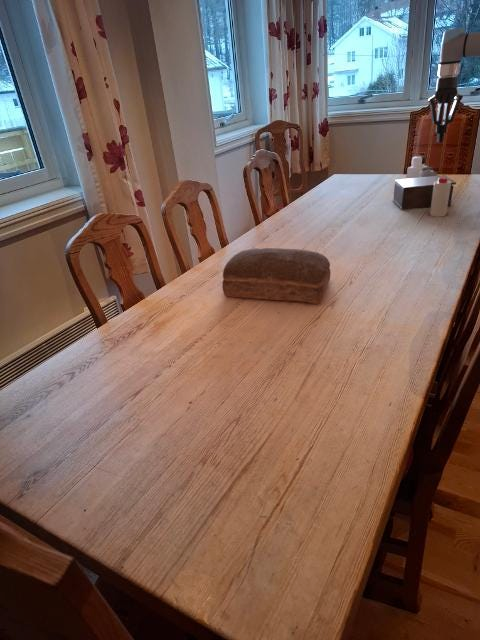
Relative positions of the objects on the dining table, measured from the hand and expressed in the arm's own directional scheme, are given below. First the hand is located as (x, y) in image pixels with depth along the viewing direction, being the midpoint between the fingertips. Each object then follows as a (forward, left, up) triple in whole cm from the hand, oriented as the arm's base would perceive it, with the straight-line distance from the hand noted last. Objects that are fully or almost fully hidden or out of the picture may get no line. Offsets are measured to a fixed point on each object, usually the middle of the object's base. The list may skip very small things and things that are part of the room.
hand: (439, 141), depth 177 cm
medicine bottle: (-2, -30, -23) cm, 38 cm away
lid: (+6, +7, -15) cm, 18 cm away
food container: (0, -10, -23) cm, 25 cm away
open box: (+7, +7, -23) cm, 25 cm away
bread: (+70, +81, -23) cm, 110 cm away
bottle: (+5, +23, -23) cm, 33 cm away
